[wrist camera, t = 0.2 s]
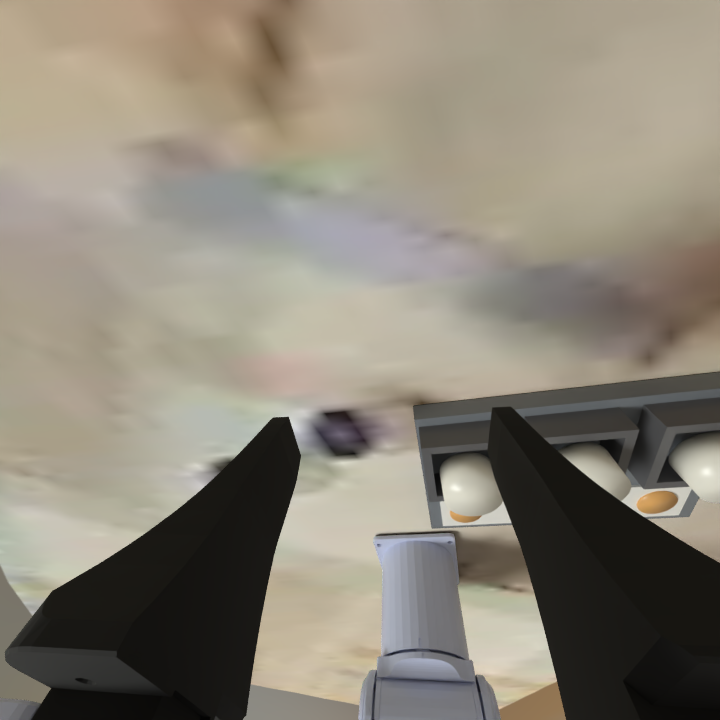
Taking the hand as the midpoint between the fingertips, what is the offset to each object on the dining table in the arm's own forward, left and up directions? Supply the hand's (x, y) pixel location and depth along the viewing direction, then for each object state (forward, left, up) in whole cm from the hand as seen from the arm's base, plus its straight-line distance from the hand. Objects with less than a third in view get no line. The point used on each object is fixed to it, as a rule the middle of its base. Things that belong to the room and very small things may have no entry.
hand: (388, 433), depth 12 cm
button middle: (-11, -11, -7) cm, 16 cm away
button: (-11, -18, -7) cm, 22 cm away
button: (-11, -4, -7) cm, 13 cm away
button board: (-14, -11, -10) cm, 20 cm away
